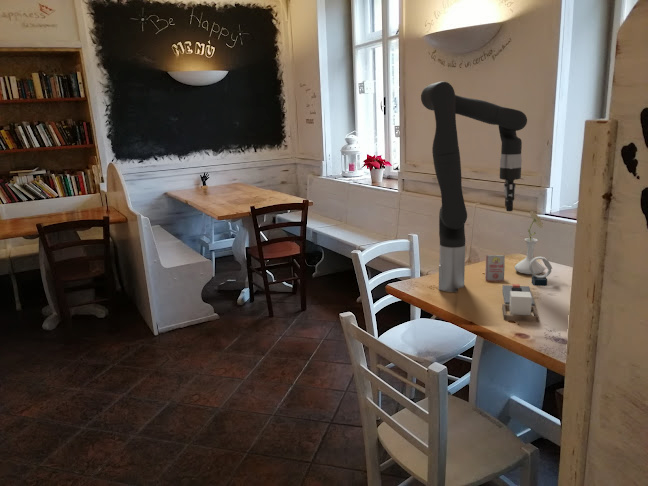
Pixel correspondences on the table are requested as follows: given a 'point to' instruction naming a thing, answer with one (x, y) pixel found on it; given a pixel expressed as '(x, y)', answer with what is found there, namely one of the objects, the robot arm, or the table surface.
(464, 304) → the table surface
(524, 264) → the flower in vase
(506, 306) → the tray
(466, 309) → the table surface
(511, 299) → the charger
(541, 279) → the watch
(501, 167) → the robot arm
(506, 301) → the power strip
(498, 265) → the tea box
